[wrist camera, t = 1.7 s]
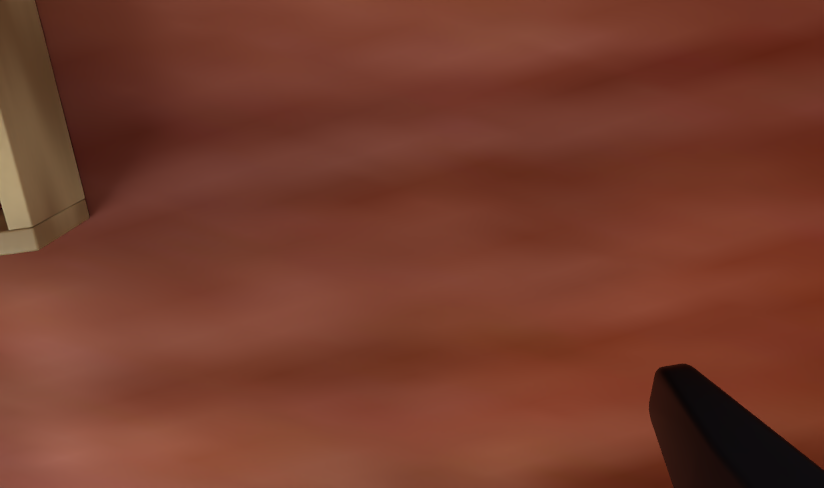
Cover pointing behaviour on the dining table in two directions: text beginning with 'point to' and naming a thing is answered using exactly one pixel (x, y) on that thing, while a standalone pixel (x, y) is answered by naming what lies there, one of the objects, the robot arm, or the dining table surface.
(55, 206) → the wooden frame
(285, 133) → the dining table surface
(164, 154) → the dining table surface
